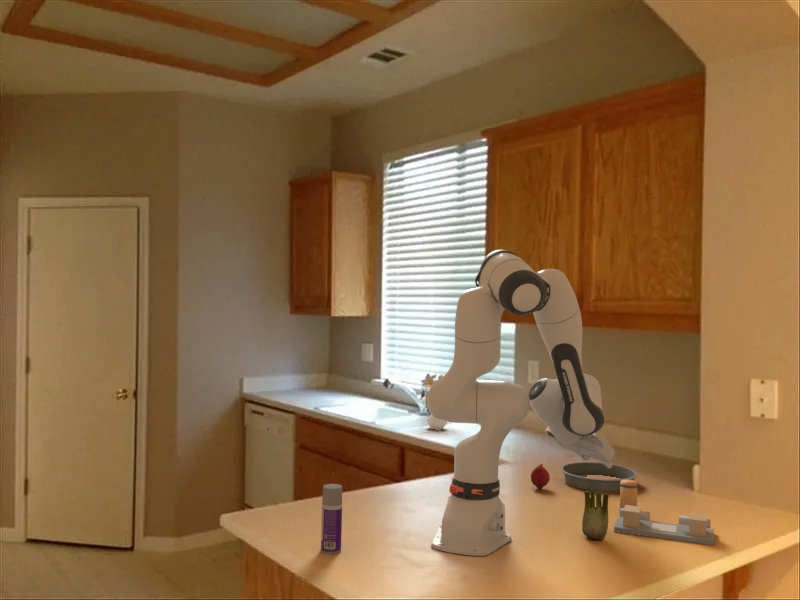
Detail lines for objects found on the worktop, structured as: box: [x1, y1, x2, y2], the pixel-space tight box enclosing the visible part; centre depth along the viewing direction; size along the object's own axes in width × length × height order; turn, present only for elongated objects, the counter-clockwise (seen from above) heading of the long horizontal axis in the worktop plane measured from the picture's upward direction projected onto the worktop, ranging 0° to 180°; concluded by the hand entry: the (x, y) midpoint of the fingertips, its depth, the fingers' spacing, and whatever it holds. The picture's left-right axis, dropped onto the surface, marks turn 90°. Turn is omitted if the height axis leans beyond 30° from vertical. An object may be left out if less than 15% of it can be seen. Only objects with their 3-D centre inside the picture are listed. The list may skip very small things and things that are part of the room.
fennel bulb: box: [581, 490, 610, 541], centre depth 182 cm, size 6×5×12 cm
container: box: [320, 483, 343, 555], centre depth 169 cm, size 5×5×15 cm
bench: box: [613, 505, 716, 546], centre depth 188 cm, size 10×24×5 cm, turn 68°
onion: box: [530, 463, 551, 490], centre depth 229 cm, size 6×6×8 cm
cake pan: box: [560, 461, 639, 492], centre depth 239 cm, size 25×25×4 cm
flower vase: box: [421, 373, 448, 431], centre depth 332 cm, size 13×18×25 cm
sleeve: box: [619, 479, 639, 512], centre depth 205 cm, size 5×5×9 cm
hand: (598, 462), depth 199 cm, fingers open, 8 cm apart
